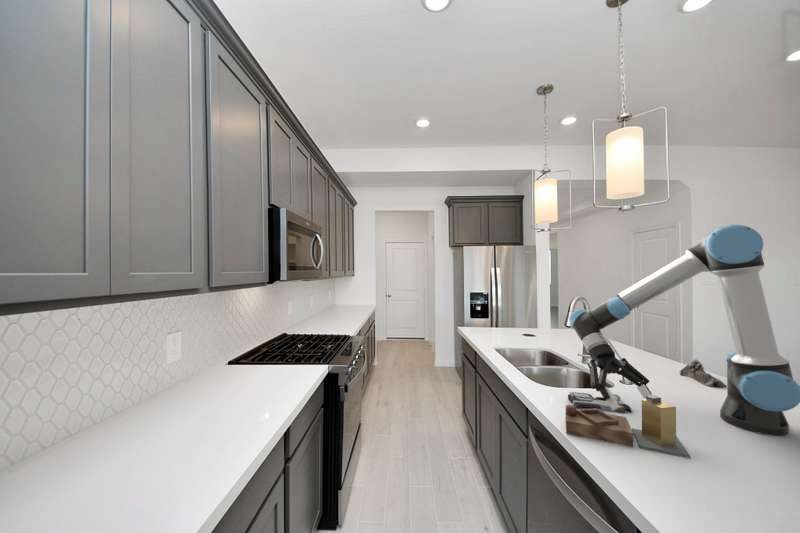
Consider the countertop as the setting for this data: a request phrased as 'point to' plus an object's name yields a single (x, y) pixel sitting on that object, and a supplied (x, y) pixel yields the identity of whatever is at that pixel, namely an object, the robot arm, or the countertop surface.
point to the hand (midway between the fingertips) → (635, 407)
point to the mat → (651, 446)
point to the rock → (700, 375)
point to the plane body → (598, 425)
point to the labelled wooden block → (658, 421)
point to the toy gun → (595, 402)
